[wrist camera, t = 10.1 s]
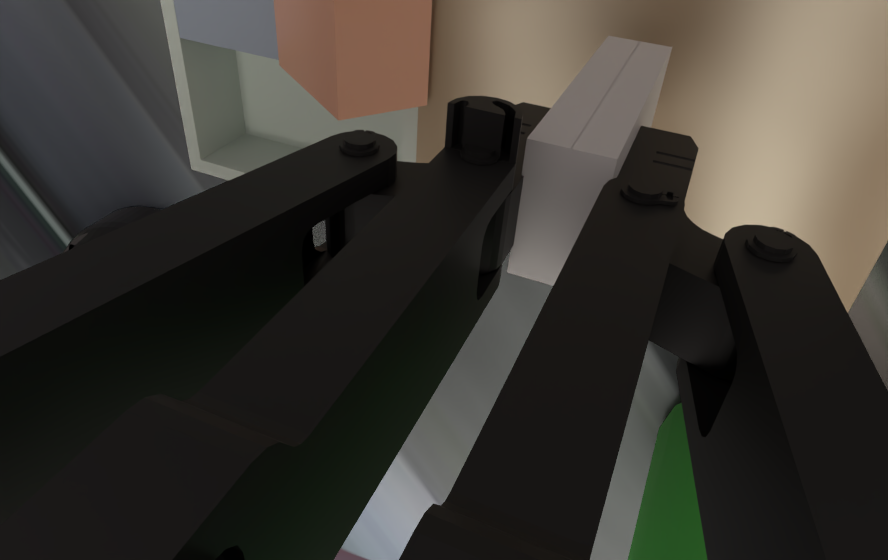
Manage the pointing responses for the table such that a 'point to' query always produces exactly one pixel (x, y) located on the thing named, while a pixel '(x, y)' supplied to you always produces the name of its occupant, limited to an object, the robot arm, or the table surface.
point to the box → (257, 109)
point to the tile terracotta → (357, 52)
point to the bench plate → (712, 102)
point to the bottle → (669, 500)
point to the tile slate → (230, 24)
